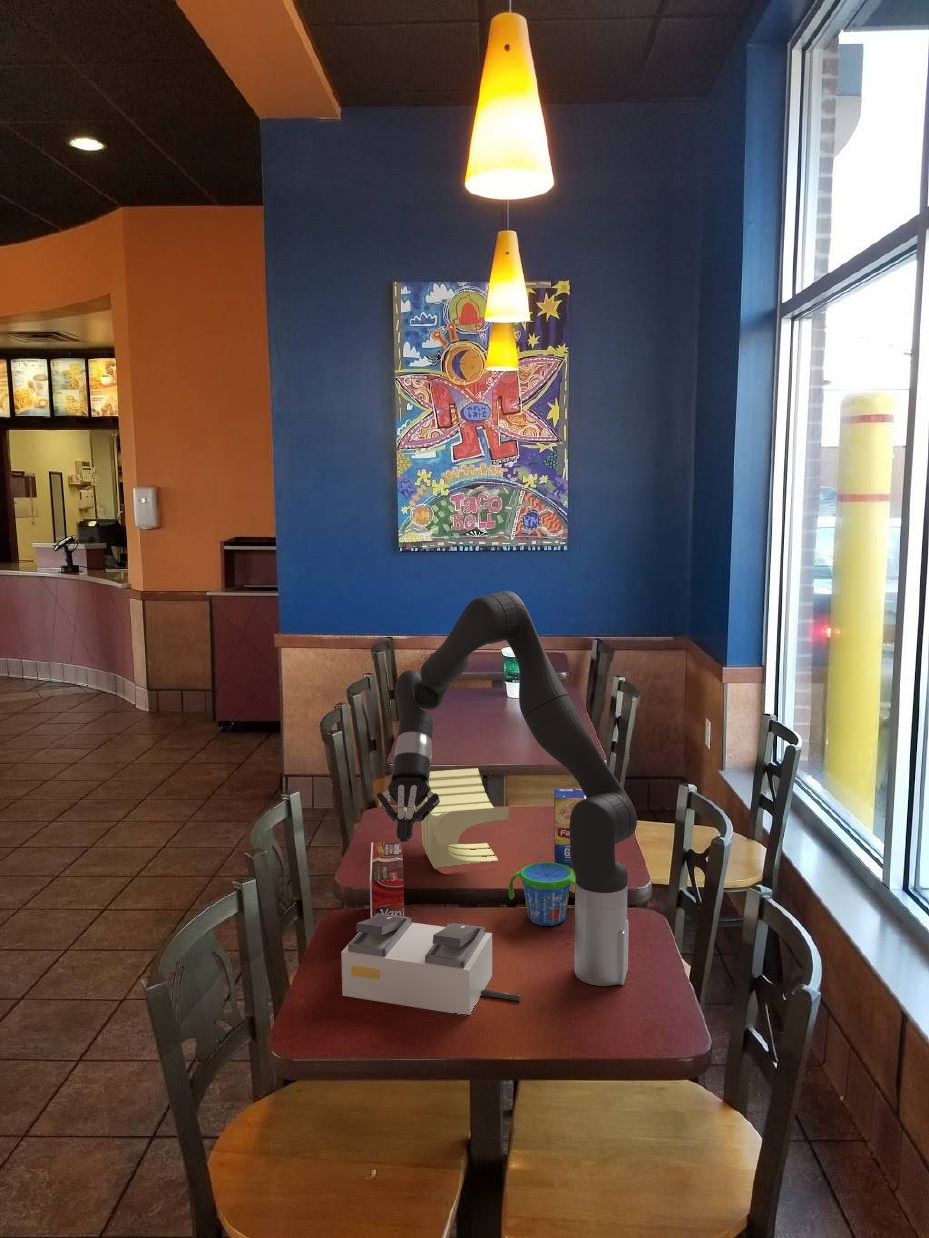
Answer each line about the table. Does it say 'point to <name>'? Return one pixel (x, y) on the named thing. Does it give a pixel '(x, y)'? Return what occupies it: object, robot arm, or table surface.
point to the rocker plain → (455, 935)
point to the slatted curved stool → (457, 818)
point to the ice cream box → (386, 879)
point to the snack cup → (545, 891)
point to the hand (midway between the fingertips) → (403, 840)
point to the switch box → (419, 969)
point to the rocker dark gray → (379, 925)
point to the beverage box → (564, 825)
